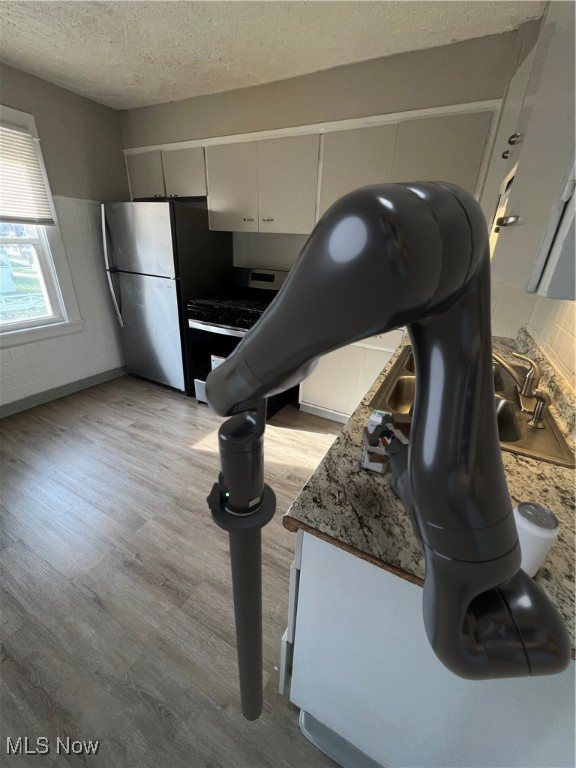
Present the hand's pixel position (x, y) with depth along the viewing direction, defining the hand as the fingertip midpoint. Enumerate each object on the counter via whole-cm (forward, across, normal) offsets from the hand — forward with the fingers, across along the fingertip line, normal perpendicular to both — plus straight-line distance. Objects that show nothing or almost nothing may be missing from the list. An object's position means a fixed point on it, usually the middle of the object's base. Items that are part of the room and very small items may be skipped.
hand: (396, 418), depth 57 cm
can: (-10, -23, +23) cm, 34 cm away
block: (+3, 0, +8) cm, 9 cm away
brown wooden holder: (+1, 0, +9) cm, 9 cm away
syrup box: (+15, -2, +23) cm, 27 cm away
